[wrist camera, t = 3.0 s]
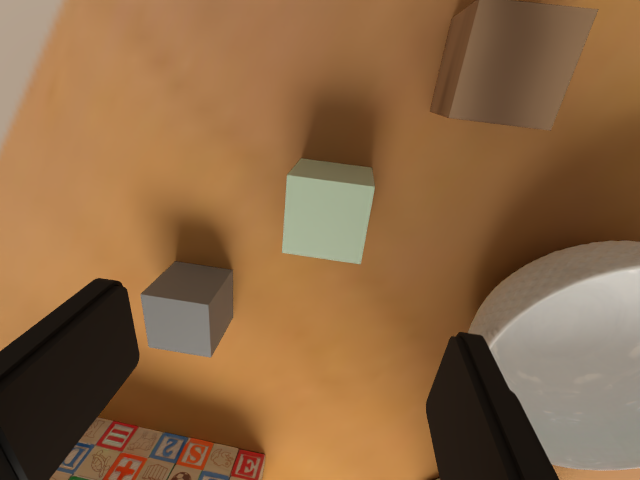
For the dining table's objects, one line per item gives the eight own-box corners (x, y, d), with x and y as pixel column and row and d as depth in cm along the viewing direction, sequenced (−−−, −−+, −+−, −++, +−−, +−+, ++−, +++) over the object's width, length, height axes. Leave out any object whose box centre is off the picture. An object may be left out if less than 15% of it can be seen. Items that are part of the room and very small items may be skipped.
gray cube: (233, 269, 28) (208, 304, 23) (233, 316, 30) (210, 357, 25) (175, 260, 28) (140, 294, 23) (180, 308, 30) (148, 347, 26)
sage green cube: (371, 167, 23) (374, 186, 18) (360, 232, 25) (360, 264, 21) (301, 158, 23) (287, 175, 19) (295, 223, 25) (282, 252, 21)
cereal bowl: (584, 164, 21) (680, 196, 15) (738, 302, 24) (874, 379, 18) (405, 323, 28) (418, 392, 22) (540, 416, 31) (587, 502, 24)
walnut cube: (540, 28, 19) (598, 9, 14) (509, 121, 21) (550, 130, 16) (451, 18, 19) (480, -3, 14) (429, 111, 21) (448, 117, 17)
